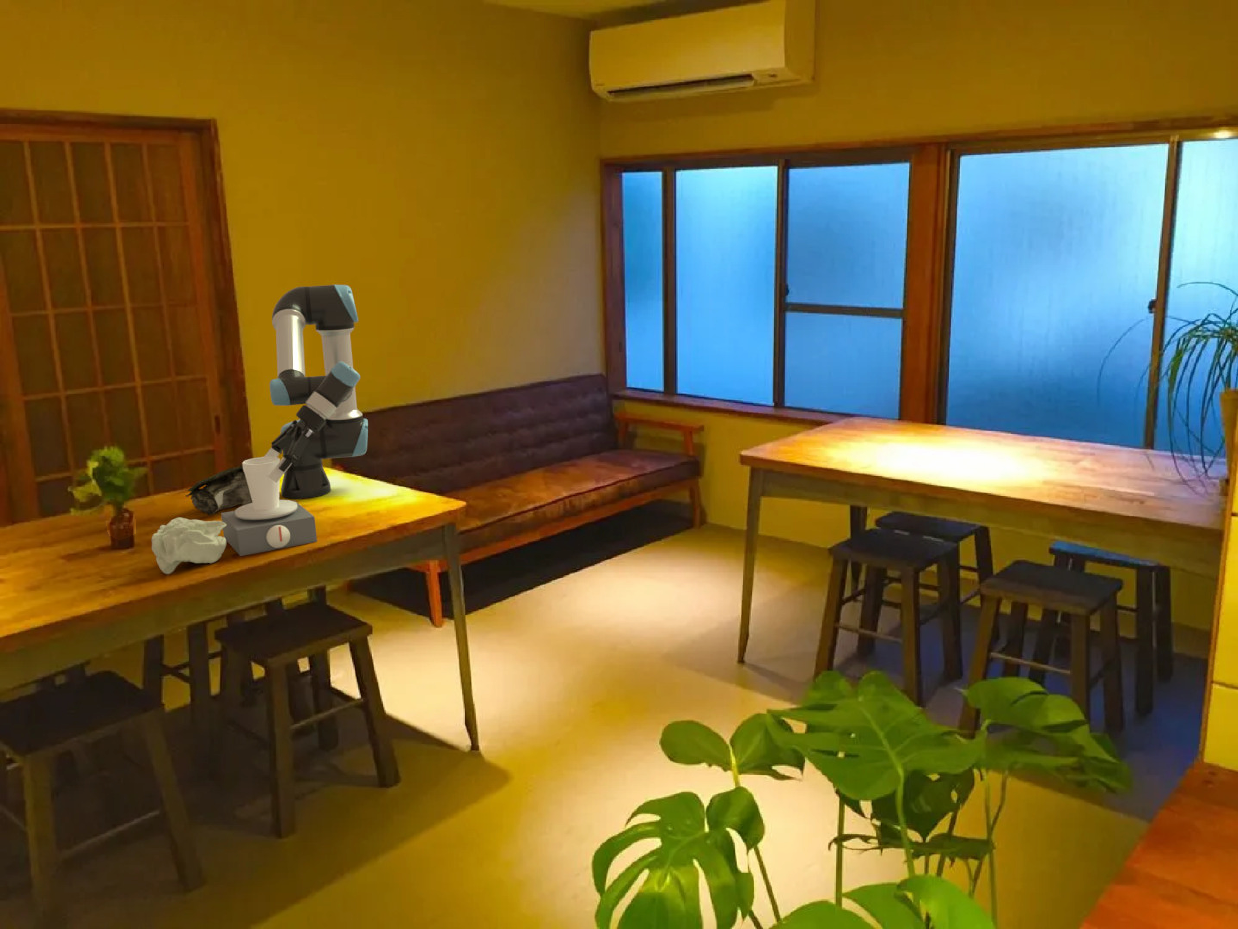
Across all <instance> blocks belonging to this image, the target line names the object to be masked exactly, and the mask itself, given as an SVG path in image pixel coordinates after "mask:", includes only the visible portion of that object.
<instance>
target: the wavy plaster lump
mask: <svg viewBox="0 0 1238 929" xmlns="http://www.w3.org/2000/svg"><path fill="white" fill-rule="evenodd" d="M224 527H226V523H224V522H222V520H211V521H210V520H207V521H206V520H200V519H188V518H184V517H181V516H180V517H176V518H173V519H171V520H170V521H169V522H168V523H167V524H166V525H165V524H161V525H160V526H159V529H157V532H155V533H153V534H152V537H151V550H152V552H153V554H154V556H156V557H155V560H156V562H157V563H156V564H157V565H158V567H159V569H160V571H161V572H162V573H163V574H165V575H170V574H172V573H173V572H175V570H176V568H177V567H178V565H180V564H181V563H182V562H185V563H188V562H190V563H194V564H208V563H209V564H214V563H216V562H217V561H219V559H221V557H222V554H223V553H225V552H224V551H225V549H226V547H227V540H226V539H225V537H224V536H221V535H220V534H221V531H223V528H224Z"/></svg>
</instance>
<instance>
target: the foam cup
mask: <svg viewBox="0 0 1238 929" xmlns="http://www.w3.org/2000/svg"><path fill="white" fill-rule="evenodd" d="M280 460H281V459H280V458H279V456H278V457H264V456H261V457H254V458H249V459H245V460H243V462H242V463H241V464H242V465H243V471H244V473H245V476H246V480H247V484H248V487H249V491H250V495H251V503H253V506H254V509H255V510H259V511H265V510H271V509H275V508H277V507H279V500H280V480H281V478H280V479H279V481H278V482H277V483H276V482H274V481H273V480H272V479H270V478H269V477H268V476H269V474H270V473H271V472H272V470H273V469H274V468H275V467H276V465H277V464H278V463H279V462H280Z"/></svg>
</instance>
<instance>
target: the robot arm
mask: <svg viewBox="0 0 1238 929" xmlns="http://www.w3.org/2000/svg"><path fill="white" fill-rule="evenodd" d="M358 317H359V316H358V312H357V308H356V304H355V299H354V295H353V291H352V288H351V287H350V286H349V285H347V284H329V285H328V284H327V285H311V286H298V287H294V288H292V289H290V290H288V291H287V292H285V293H284V294H283V295H282V296H281V297H280V299H279V300H278V301H277V302H276V304H275V306H274V308H273V311H272V315H271V322H272V326H273V329H274V330H275V331H276V332H275V335H276V336H275V337H276V340H275V342H276V363H277V364H276V367H277V370H276V371H277V378H275V379H271V380H270V382H269V392H270V398H271V403H272V405H273V406H277V407H278V406H297V405H302V406H301V407H300V409H299V410H298V411H297V412H296V414H295V415H296V417H297V418H298V419H294V420H293V421H290V422H288V423H285V424H284V425H282V427H281V428H280V434H279V435H278V436H277V437H276V438H275V439H274V440H273V441H272V442H271V444H270V445H271V448H269V450H267V453H266V454H264V456H263V457H278V458H279V455H281V454H282V458H281V459H280V462H279V463H278V464H277V465H276V467H275V468H274V469H273V470H272V472H271V473H270V474H269V476H268V477H269V478H270V479H272V480H273V481H274V482H276V483H277V482H278V481H279V482H280V480H281V478H282V477H283V478H282V482H281V485H280V487H281V488H280V490H281V491H280V492H281V496H282V497H283V498H286V499H297V500H300V499H312V498H316V497H321V496H324V495H326V494H328V493H330V492H331V491H332V488H331V482H330V480H329V478H328V476H327V473H326V471H325V469H324V467H323V466H324V465H323V460H328V459H338V458H339V459H340V458H349V457H350V458H354V457H358V456H359V457H360V456H364V455H365V454H366V452H367V450H368V438H369V436H368V433H369V430H368V429H369V427H368V426H369V421H368V419H367V418H364V417H363V413H362V412H361V411H360V410H359V409H358V405H357V394H356V386H357V384H358V383H359V381H360V380H361V375H360V373H359V372H358V371H357V370H355V369H354V364H353V362H354V360H353V354H352V352H353V351H352V340H351V333H352V332H353V330H354V329H355V324H356V323H358V322H359V318H358ZM307 325H310V326H311V325H314V326H315V332H317V333H318V334H319V335H320V336H321V343H322V353H323V362H324V363H323V364H324V373H325V375H316V376H306V365H305V348H304V346H305V345H304V333H303V332H304V329H305V328H306V326H307ZM279 479H280V480H279Z"/></svg>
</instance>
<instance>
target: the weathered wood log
mask: <svg viewBox="0 0 1238 929" xmlns="http://www.w3.org/2000/svg"><path fill="white" fill-rule="evenodd" d="M187 492H189V493H188V494H186V495H185V497H187V498H189V496H190V500H192V501H191V503H192V505H193V506H194V508H195V509H196V510H199V511H200V512H202V513H205V514H206V515H207V516H210V515H211V516H213V515H214V514H215V513H216V512H218V511H220V510H224V509H230V508H233V507H235V506H237V505H238V506H239V505H246V504H250V503H252V499H251V495H250V491H249V487H248V484H247V480H246V476H245V473H244V471H243V465H239V466H236V467H232V468H228V469H225V470H221V471H219V472H217V473H216V474H214V475H212V476H209V477H207V478H204V479H203V480H199V481H197V482H196V483H195V484H193V485H192V486H191V487H190V488H188V490H187Z"/></svg>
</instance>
